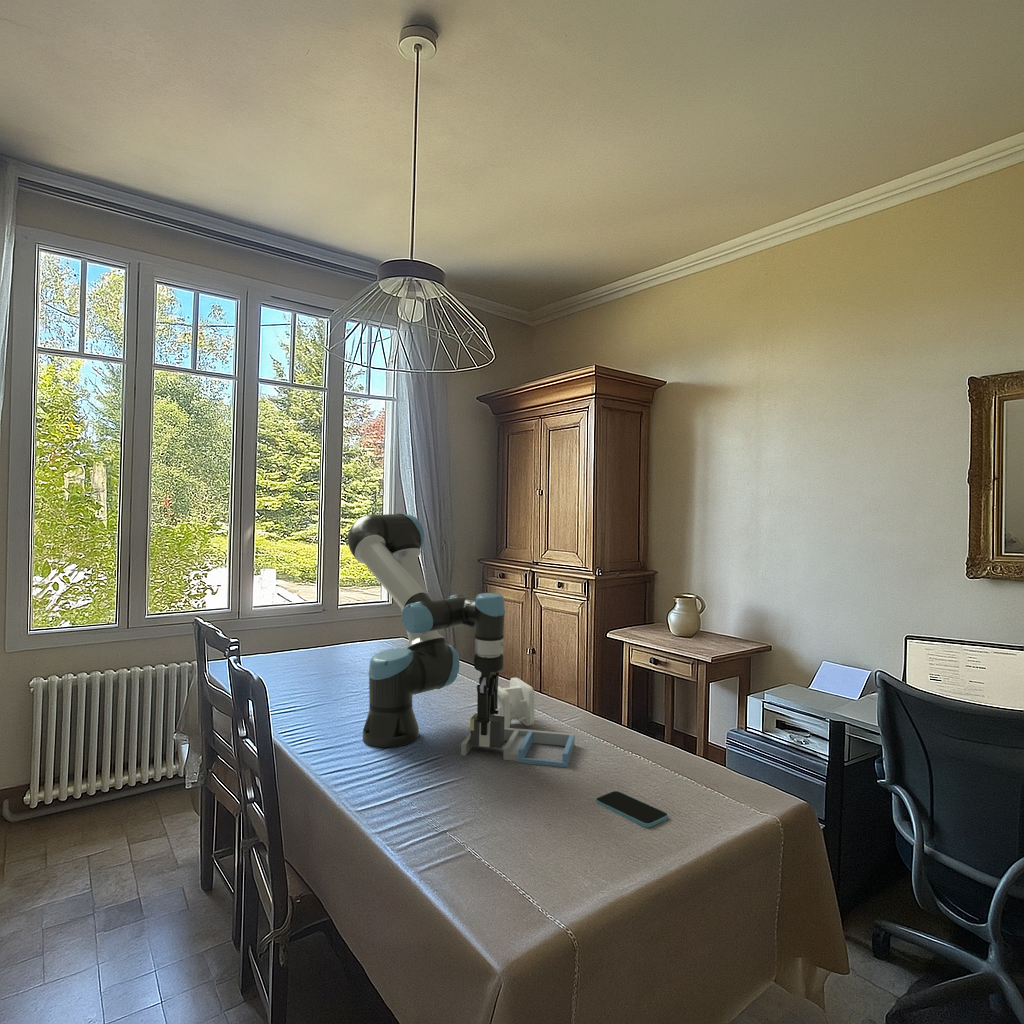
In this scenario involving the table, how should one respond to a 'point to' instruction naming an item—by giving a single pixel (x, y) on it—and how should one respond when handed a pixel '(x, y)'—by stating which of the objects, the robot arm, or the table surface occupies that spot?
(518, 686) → the cable organizer
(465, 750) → the grey frame
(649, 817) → the smartphone
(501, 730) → the yellow-capped grey block
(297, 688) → the table surface
